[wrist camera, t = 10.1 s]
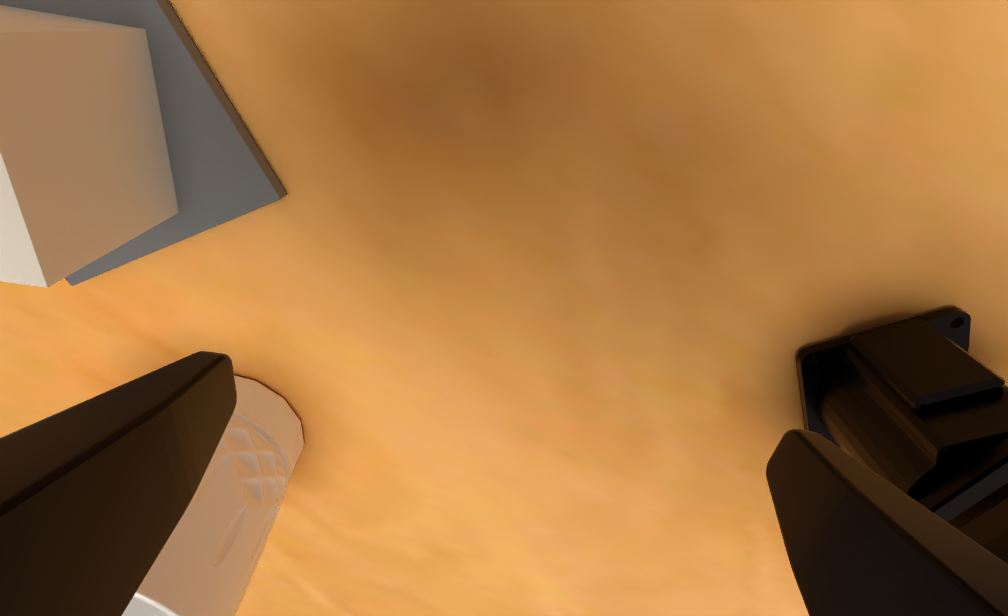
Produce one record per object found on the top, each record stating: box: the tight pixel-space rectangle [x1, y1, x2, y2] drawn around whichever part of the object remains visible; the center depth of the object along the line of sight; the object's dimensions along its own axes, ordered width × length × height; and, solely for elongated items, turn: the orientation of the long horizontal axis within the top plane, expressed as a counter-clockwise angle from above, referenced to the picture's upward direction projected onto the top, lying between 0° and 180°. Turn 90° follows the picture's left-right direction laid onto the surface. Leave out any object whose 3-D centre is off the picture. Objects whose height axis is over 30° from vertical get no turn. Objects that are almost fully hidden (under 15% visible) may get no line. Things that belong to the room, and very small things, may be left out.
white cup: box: [122, 375, 304, 616], centre depth 20 cm, size 8×8×10 cm
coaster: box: [0, 0, 287, 286], centre depth 17 cm, size 10×10×1 cm
